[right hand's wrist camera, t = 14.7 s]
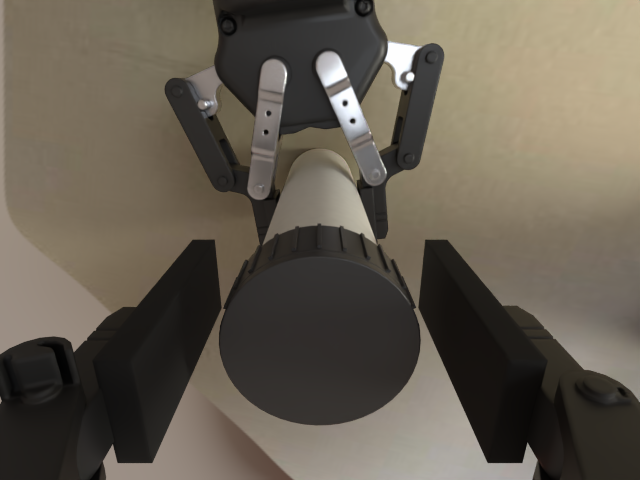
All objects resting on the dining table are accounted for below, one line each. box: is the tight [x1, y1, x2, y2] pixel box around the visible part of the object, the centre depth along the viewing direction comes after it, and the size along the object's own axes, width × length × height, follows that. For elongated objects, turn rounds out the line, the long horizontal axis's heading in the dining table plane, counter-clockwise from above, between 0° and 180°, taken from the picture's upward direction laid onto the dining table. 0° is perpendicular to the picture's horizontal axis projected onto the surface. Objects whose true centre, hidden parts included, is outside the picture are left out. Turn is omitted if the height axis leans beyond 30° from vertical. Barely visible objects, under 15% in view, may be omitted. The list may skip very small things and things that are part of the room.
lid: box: [219, 223, 421, 425], centre depth 11 cm, size 5×5×2 cm
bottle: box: [263, 148, 378, 246], centre depth 20 cm, size 5×5×19 cm
